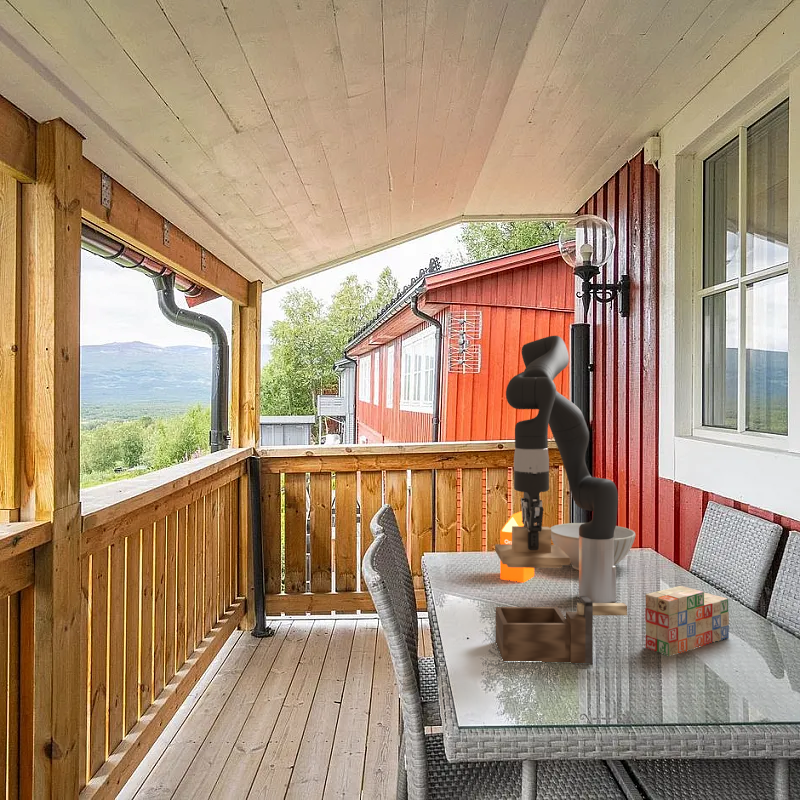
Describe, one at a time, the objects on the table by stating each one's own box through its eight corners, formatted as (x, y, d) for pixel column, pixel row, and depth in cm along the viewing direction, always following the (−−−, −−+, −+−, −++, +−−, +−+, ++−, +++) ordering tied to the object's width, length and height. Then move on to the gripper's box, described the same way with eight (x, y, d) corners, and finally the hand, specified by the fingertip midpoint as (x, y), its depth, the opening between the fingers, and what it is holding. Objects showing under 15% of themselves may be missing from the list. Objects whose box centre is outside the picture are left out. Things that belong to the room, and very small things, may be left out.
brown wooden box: (577, 642, 157) (577, 585, 157) (592, 664, 144) (592, 602, 144) (495, 642, 157) (495, 585, 157) (503, 664, 144) (503, 602, 144)
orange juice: (534, 576, 213) (534, 511, 213) (523, 582, 206) (523, 515, 206) (511, 572, 218) (511, 509, 217) (499, 579, 210) (499, 513, 210)
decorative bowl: (647, 579, 210) (647, 539, 210) (559, 578, 210) (559, 539, 210) (620, 558, 237) (620, 522, 237) (542, 557, 237) (542, 522, 237)
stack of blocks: (705, 631, 165) (705, 579, 165) (729, 639, 159) (729, 585, 159) (644, 648, 153) (644, 593, 153) (668, 657, 148) (669, 600, 148)
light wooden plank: (624, 612, 147) (624, 602, 147) (627, 615, 145) (627, 605, 145) (577, 612, 147) (577, 602, 147) (579, 615, 145) (579, 605, 145)
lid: (556, 556, 157) (557, 523, 157) (569, 569, 145) (570, 534, 145) (495, 555, 157) (495, 522, 157) (502, 568, 145) (503, 533, 145)
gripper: (509, 465, 157) (509, 541, 158) (519, 472, 143) (519, 555, 144) (542, 465, 157) (542, 540, 158) (555, 472, 143) (556, 555, 144)
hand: (531, 547), depth 151 cm, fingers closed on lid, 3 cm apart
